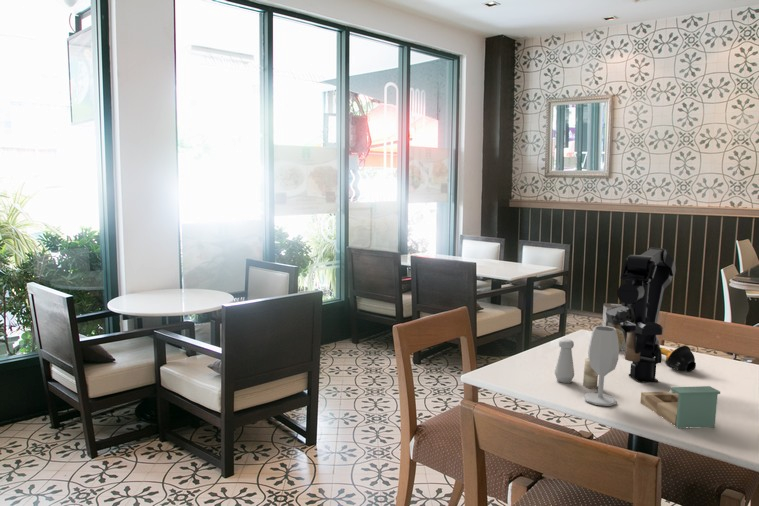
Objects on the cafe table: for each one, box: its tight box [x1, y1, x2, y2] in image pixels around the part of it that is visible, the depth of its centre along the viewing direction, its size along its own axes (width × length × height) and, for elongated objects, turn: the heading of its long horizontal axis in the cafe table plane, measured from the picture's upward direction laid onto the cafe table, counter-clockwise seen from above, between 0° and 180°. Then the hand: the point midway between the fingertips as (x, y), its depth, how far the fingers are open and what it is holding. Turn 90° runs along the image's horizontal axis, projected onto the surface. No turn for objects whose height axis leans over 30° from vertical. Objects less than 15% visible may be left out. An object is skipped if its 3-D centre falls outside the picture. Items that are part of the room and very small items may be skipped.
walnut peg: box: [624, 331, 640, 363], centre depth 177 cm, size 4×4×8 cm
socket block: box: [640, 391, 679, 427], centre depth 162 cm, size 10×16×3 cm, turn 7°
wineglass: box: [583, 325, 620, 407], centre depth 169 cm, size 9×9×21 cm
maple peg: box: [582, 357, 599, 389], centre depth 182 cm, size 4×4×8 cm
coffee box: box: [601, 302, 626, 351], centre depth 223 cm, size 9×6×16 cm
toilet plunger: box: [660, 345, 697, 373], centre depth 203 cm, size 9×11×18 cm
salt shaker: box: [554, 338, 575, 384], centre depth 186 cm, size 6×6×13 cm
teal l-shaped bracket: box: [669, 385, 721, 429], centre depth 154 cm, size 11×4×9 cm, turn 97°
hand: (633, 351), depth 177 cm, fingers closed on walnut peg, 4 cm apart
